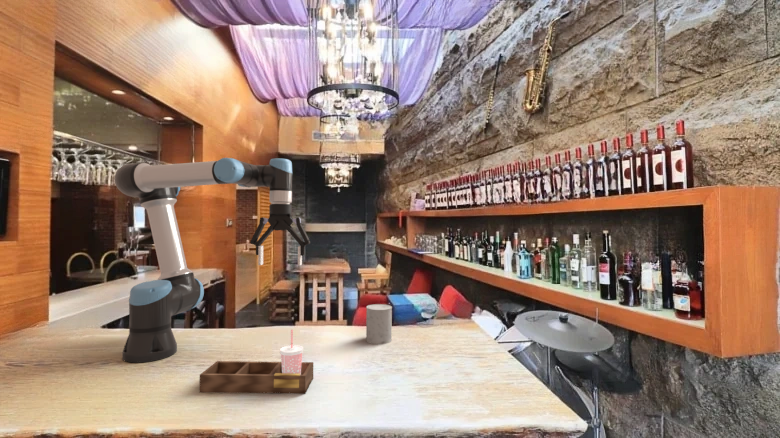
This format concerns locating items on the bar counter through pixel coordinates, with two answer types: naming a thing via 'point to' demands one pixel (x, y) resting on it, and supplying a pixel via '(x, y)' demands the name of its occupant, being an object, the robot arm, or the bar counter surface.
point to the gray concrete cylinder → (379, 324)
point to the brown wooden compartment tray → (255, 378)
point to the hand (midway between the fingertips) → (280, 265)
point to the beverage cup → (291, 357)
